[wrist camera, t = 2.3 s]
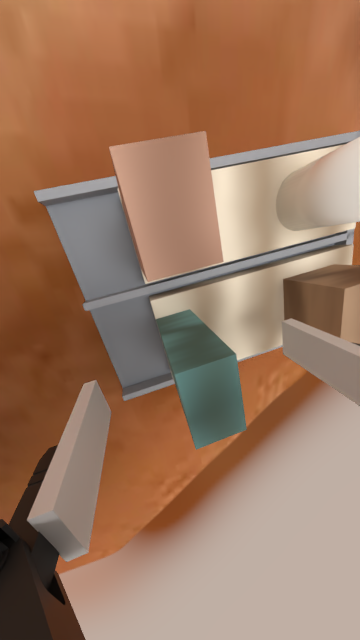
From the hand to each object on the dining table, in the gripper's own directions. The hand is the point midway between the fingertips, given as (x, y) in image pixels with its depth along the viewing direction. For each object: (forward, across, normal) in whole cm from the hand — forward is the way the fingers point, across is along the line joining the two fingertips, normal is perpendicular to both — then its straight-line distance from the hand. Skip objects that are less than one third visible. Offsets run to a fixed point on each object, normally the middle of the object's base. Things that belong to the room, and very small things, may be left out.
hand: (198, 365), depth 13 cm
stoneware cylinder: (+4, +12, +9) cm, 15 cm away
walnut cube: (+4, +13, 0) cm, 14 cm away
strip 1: (+7, +8, +9) cm, 14 cm away
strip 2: (+6, +8, 0) cm, 10 cm away
